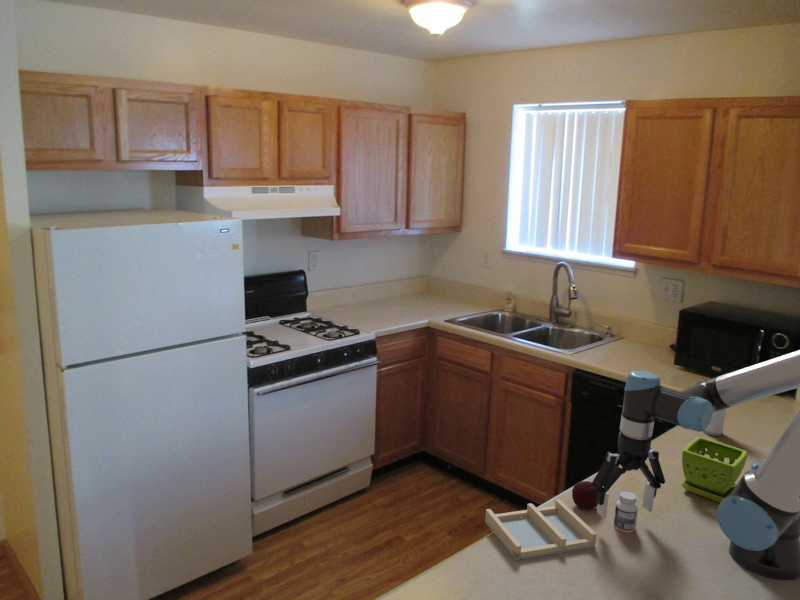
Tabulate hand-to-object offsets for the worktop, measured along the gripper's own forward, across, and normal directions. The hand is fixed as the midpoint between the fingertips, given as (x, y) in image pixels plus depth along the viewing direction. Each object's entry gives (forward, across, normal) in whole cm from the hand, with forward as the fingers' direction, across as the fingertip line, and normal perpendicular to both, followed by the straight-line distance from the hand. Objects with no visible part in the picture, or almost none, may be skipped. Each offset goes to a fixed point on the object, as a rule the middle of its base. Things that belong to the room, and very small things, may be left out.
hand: (624, 512), depth 158 cm
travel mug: (+4, -70, -44) cm, 82 cm away
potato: (+4, +4, -10) cm, 12 cm away
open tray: (+4, +23, -2) cm, 23 cm away
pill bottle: (+4, 0, 0) cm, 4 cm away
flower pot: (+4, -36, -10) cm, 38 cm away
